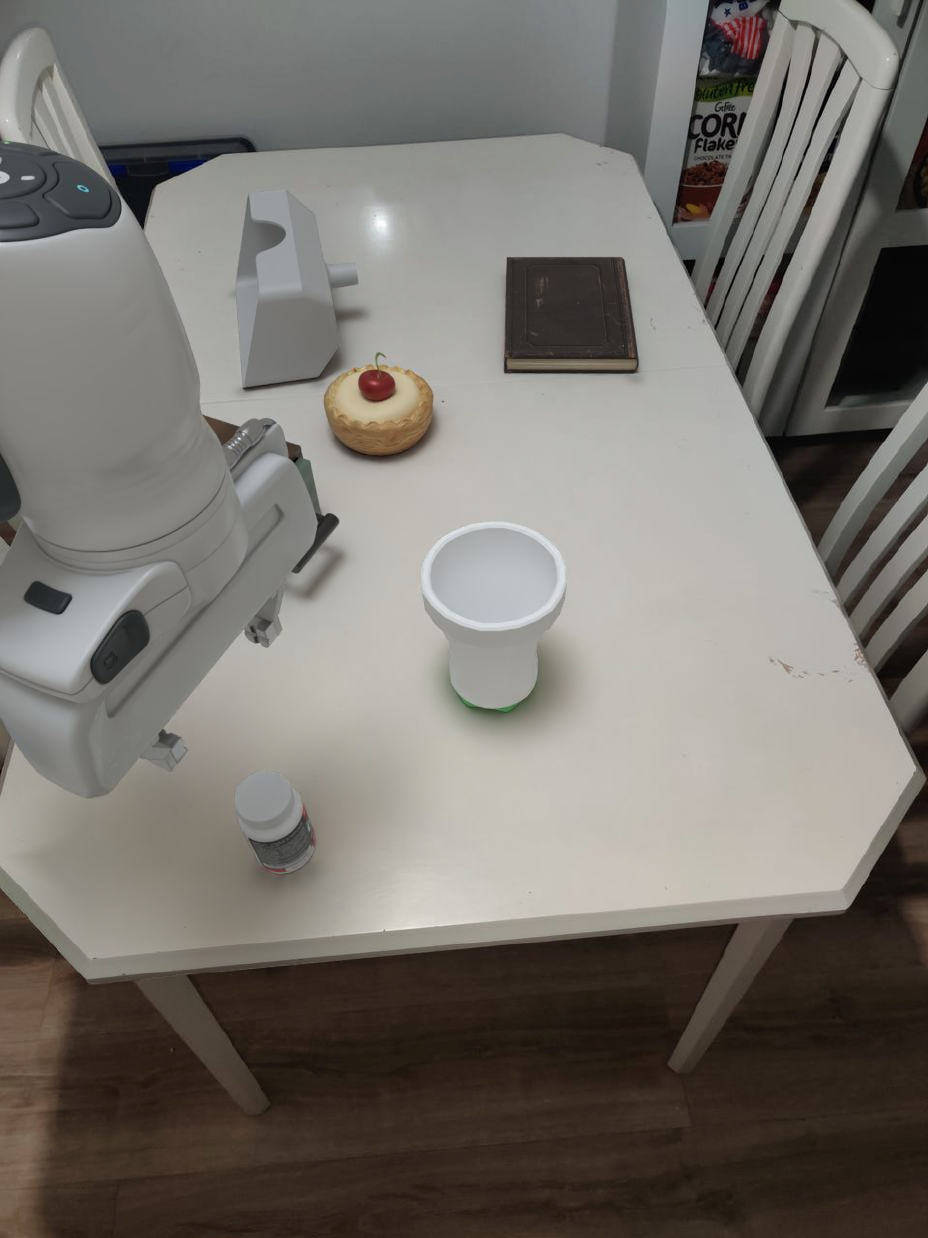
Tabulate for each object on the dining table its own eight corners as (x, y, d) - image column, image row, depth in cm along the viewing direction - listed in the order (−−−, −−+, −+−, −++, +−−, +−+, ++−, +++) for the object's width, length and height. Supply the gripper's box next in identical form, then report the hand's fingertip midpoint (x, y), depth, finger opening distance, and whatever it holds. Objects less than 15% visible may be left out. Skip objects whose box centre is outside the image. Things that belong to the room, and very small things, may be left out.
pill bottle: (328, 844, 67) (311, 792, 61) (281, 888, 65) (257, 839, 59) (289, 806, 69) (268, 753, 63) (242, 847, 67) (215, 797, 61)
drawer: (358, 531, 87) (348, 472, 81) (291, 618, 80) (274, 561, 74) (207, 479, 93) (187, 420, 87) (132, 556, 86) (104, 498, 80)
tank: (375, 373, 105) (363, 277, 96) (243, 393, 104) (217, 297, 94) (350, 269, 121) (338, 177, 111) (235, 284, 119) (212, 192, 109)
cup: (529, 617, 81) (535, 505, 70) (577, 712, 74) (592, 605, 63) (414, 649, 79) (401, 540, 68) (452, 750, 72) (445, 647, 61)
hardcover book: (503, 372, 105) (504, 356, 103) (506, 272, 119) (506, 256, 117) (637, 373, 104) (639, 356, 102) (623, 272, 118) (625, 256, 117)
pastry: (322, 464, 95) (308, 397, 88) (337, 397, 103) (325, 331, 96) (431, 465, 95) (426, 397, 88) (438, 398, 102) (434, 331, 95)
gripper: (223, 385, 47) (274, 559, 58) (-73, 662, 36) (59, 815, 46) (322, 414, 45) (356, 589, 56) (43, 718, 34) (152, 864, 44)
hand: (219, 694), depth 51 cm, fingers open, 8 cm apart
